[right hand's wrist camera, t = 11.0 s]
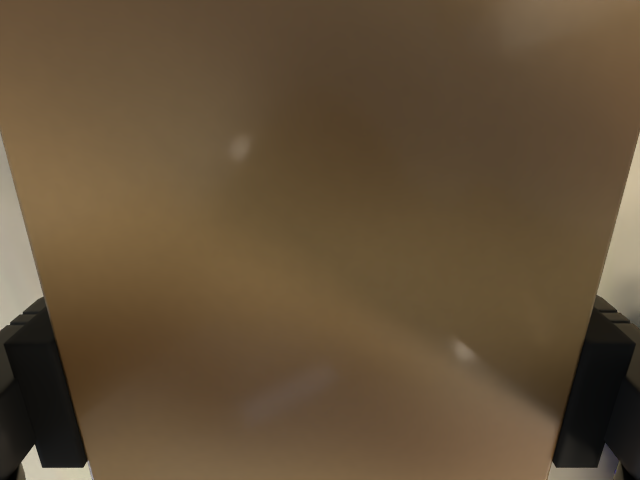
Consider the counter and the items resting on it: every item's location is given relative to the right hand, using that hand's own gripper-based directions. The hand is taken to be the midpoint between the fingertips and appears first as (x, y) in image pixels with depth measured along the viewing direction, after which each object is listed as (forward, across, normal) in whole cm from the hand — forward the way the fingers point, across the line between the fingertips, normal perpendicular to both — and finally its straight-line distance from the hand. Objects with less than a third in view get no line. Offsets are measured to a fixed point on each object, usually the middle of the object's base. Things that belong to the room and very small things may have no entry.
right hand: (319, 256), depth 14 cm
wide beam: (+1, 0, -25) cm, 25 cm away
